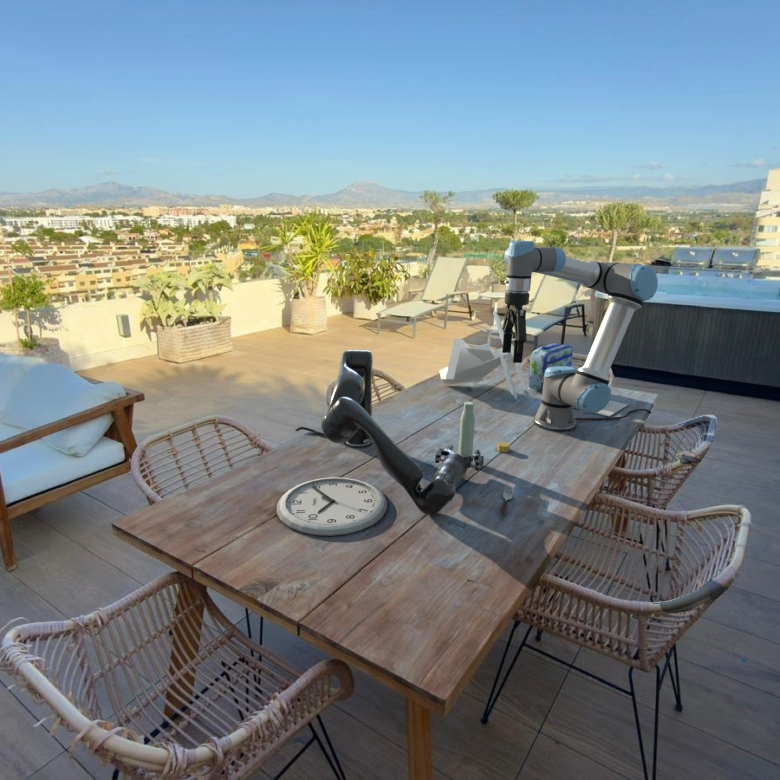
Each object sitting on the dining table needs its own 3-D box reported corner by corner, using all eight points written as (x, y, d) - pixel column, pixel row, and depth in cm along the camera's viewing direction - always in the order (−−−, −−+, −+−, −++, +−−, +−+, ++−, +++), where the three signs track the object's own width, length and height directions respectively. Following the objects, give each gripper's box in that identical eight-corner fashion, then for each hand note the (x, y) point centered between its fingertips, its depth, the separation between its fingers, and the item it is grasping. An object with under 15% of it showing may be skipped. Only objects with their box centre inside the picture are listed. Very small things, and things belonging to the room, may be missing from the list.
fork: (495, 518, 138) (496, 511, 137) (504, 491, 152) (505, 484, 151) (505, 520, 137) (506, 513, 136) (513, 492, 151) (514, 486, 150)
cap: (508, 453, 178) (508, 447, 177) (496, 451, 179) (496, 445, 179) (510, 448, 182) (510, 443, 181) (498, 446, 183) (498, 441, 182)
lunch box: (544, 395, 239) (549, 351, 233) (524, 390, 247) (528, 347, 240) (571, 384, 257) (577, 343, 251) (552, 380, 264) (556, 339, 258)
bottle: (460, 457, 174) (464, 400, 168) (473, 459, 172) (477, 402, 166) (456, 462, 170) (459, 404, 164) (469, 465, 169) (473, 406, 163)
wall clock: (392, 527, 129) (268, 531, 127) (391, 533, 130) (269, 537, 127) (383, 473, 158) (282, 475, 155) (383, 478, 158) (282, 480, 156)
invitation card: (608, 416, 214) (573, 407, 224) (608, 416, 214) (573, 408, 224) (628, 404, 229) (594, 396, 238) (628, 405, 229) (594, 397, 238)
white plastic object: (461, 429, 252) (437, 405, 227) (444, 352, 274) (420, 323, 250) (535, 404, 240) (518, 377, 215) (510, 326, 262) (492, 293, 237)
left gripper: (427, 477, 156) (442, 456, 170) (474, 487, 151) (485, 464, 165) (428, 454, 153) (443, 435, 168) (476, 463, 149) (487, 443, 163)
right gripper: (496, 287, 176) (491, 348, 182) (516, 296, 152) (510, 367, 159) (518, 287, 176) (512, 348, 183) (541, 296, 153) (534, 367, 159)
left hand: (464, 450), depth 167 cm, fingers open, 8 cm apart
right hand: (511, 357), depth 171 cm, fingers open, 13 cm apart
